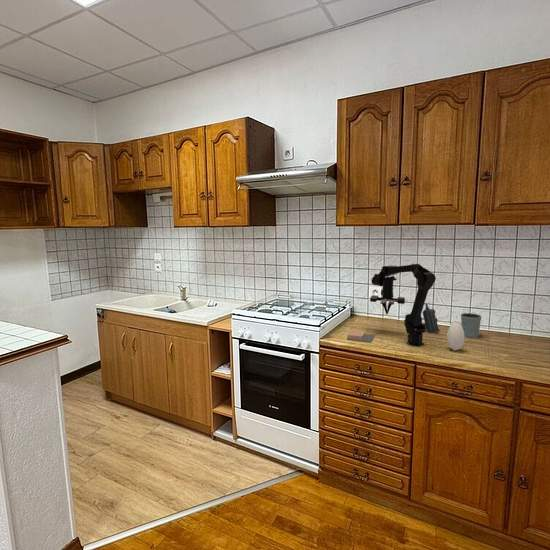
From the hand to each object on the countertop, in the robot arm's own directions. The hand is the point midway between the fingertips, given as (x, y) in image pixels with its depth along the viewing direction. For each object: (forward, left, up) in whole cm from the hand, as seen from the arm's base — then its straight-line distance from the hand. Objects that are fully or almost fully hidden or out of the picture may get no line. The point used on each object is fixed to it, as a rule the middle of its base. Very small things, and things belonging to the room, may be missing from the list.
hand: (387, 314), depth 201 cm
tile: (+3, +16, -10) cm, 20 cm away
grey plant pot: (-30, -35, -12) cm, 48 cm away
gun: (-10, -23, -12) cm, 28 cm away
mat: (+4, +17, -12) cm, 21 cm away
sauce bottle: (-37, -6, -12) cm, 39 cm away
